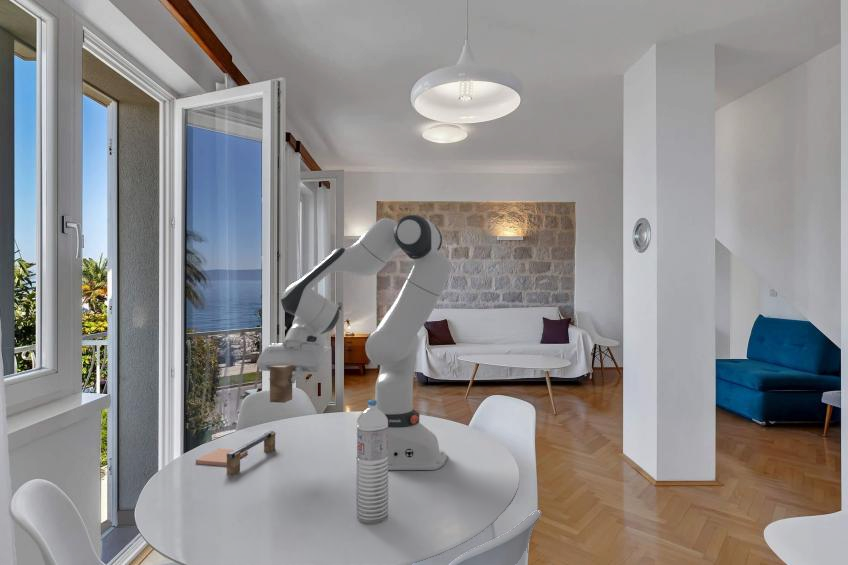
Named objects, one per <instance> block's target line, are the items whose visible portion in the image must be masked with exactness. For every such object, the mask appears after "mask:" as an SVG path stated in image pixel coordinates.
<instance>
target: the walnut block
mask: <svg viewBox="0 0 848 565" xmlns="http://www.w3.org/2000/svg"><path fill="white" fill-rule="evenodd" d="M290 375H293V372H292V365H275V366H271V367H270V371H269V378H270V380H269V402H270V403H281V404H284V403H285V404H286V403H287V402H289V401H291V400H293V383H289V381H288V378H289V376H290Z"/></svg>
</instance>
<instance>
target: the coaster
mask: <svg viewBox="0 0 848 565" xmlns="http://www.w3.org/2000/svg"><path fill="white" fill-rule="evenodd" d="M234 450H235V449H233V448H232V449H231V448H217V449H215V450H213V451H210V452H209V453H207V454H205V455H203V456H201V457H199V458H197V459H195V464H198V465H209V466H220V467H221V466H223V467H227V453H229V452H231V451H234ZM246 454H247V455H248V450H246V451H245V452H243V453H241V454H240V459H241V458H243V457H245V456H247V455H246Z"/></svg>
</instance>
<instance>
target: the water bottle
mask: <svg viewBox="0 0 848 565" xmlns="http://www.w3.org/2000/svg"><path fill="white" fill-rule="evenodd" d="M376 403H377V401H376V400H375V399H369V400H368V401H367V406H368V407H367V408H365V409H364V410H363V411H362V412H361V413H360V415H359V416H358V417H357V420H356V428H357V429H356V518H357V520H358V521H359V522H360V523H362V524H364V525H365V524H366V525H376V524H380V523H382V522H384V521H385V520H386V519H387V518H388V515H389V470H388V430H387V427H388V419H387V417H386V415H385V414H384V413H383V412H382V411H381V410H380V409H378V408H377V407H376V405H377V404H376Z"/></svg>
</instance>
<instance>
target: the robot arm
mask: <svg viewBox="0 0 848 565" xmlns="http://www.w3.org/2000/svg"><path fill="white" fill-rule="evenodd" d="M441 233H442V232H441V231H440V229H439V228H438V227H437V226H436V225H434V223H433V222H432V221H430V220H428V219H427V218H424V217H423V216H421V215H416V214H409V215H406V216H403V217H401V218H400V219H399V220H398V221H395V220H394V219H391V218H388V217H383V218H380V219H379V220H377V221H376V222H375V223H374V224H372V226H371V227H369V228H368V229H367V230H366V231H365V232H364V233H363V234H362V235H361V236H360V237H359V239H358V240H357V241H356V242H355V243H353V244H352V245H350V246H348V247H338V248H336V249H334V250H333V251H332V252H330V253H328V254H327V255H326V256H325V257H324V258H322V259H321V260H320V261H319V262H317V264H315V265H314V266H313V267H312V268H310V269H309V270H308V271H307V272H306V273H304V274H303V275H302V276H301V277H300V278H299V279H297V280H295V281H294V282H293V283H291V284H290V285H289V286H287V287H286V289H285V290H284V291H283V293H282V295H281V296H280V303H281V307H282V309H283V311H285V313H288V314H290V315H292V316H294V319H293V321H292V323H291V324H292V325H291V327H290V328H289V329H288V331H287V333H286V335H285V337H284V340H283V341H282V343H271V344H269V345H267V346H265V348H264V349H263V351H262V352H261V353H260V355H259V356H258V359H257V360H256V364H257V368H259V370H260V371H262V372H263V371H265V372H266V371H267V372H270V367H271V366H275V365H292V375H290V376H289V378H288V381H289V383H292V384H295V383H296V380H297V379H299V378H300V376H302V375H303V373H319V372H320V371H322V369H323V367H324V365H325V364H324V363H325V361H326V360H325V359H326V356H325V354H326V353H327V349H326V346H325V344H324V342H323V340H322V338H320V337H318V336H317V335H323V334H326V333H329V332H331V331H332V330H333V329H335V326H336V325H337V323H338V321H339V318H340V308H339V306H338V305H337V304H336V303H334V302H333V301H332V300H330V299H329V298H327V297H326V296H325V297H324V296H323V295H321V294H320V293H319V292H318V291H316V290H314V288H315V286H316V285H317V284H319V283H320V282H321V281H322V280H323V279H325V277H327V276H328V275H330V274H331V273H334V272H335V273H336V272H338V273H339V272H340V273H347V274H351V275H354V276H358V277H371V276H374V275H376V274H378V273H379V272H380V271H381V270H382V269H384V267H385V266H387V265H386V264H388V262H389V261H390V260H391V258H392V257H394V256H395V255H396V254H397V253H398V252H399V251H403V252H404V253H405V254H406V256H408V258H409V259H412V260H413V265H412V267H411V270H410V272H409V274H408V276H407V278H406V280H405V281H404V282H403V283H404V284H403V286H402V288H401V289H400V291H399V293H398V294H397V297H396V298H395V301H394V303H393V304H392V305H391V307H390V308H389V310H388V311H387V312H386V314H385V315H384V316H383V318H382V319H381V321H380V322H379V324H378V325H377V327H376V328H375V329H374V331H373V332H372V333H371V334H369V336H368V337H367V340H366V342H365V348H364V349H365V350H364V351H365V353H366V356H367V358H368V359H369V361H370V362H372V363H373V364H375V365H378V366H379V373H378V374H377V375H378V376H377V379H376V381H375V394H374V395H375V396H374V398H375V399H374V400H376V401H377V403H376V404H377V405H376V407H377V408H378V409H380V410H381V411H382V412H383V413H384V414H385V415H386V417H387V419H388V427H387V430H388V471H435V470H438V469H440V468H441V467H443V466H444V465H445V464H446V462H447V460H448V458H447V452H446V451H445V450H442V449H440V448H439V447H440V446H439V441H438V438H437V436H436V434H435V433H433V432H432V431H431V430H429V429H428V428H427V427H426V426H424V424H422V423H421V422H420V415H421V414H420V411H419V410H418V411H417V410H416V409H414V408H413V407H414V404H413V403H414V402H413V401H414V400H413V397H414V396H413V395H414V394H413V392H414V390H413V385H414V375H415V369H416V362H417V354H418V348H419V345H420V337H419V332H420V331H421V329H422V328H423V326H424V325H425V323H426V322H427V321H428V320H429V318H430V317H431V315H432V312H433V311H434V308H435V307H436V306H437V303H438V301H439V300H440V297H441V295H442V294H443V291H444V289H445V287H446V284H447V282H448V279H449V276H450V273H451V269H452V265H451V264H452V263H451V261H450V259H449V258H448V257H447V256H446V255H445V254H443V253H441V252H440V251H439V250H440V249H441V247H442V244H443V237H442V234H441ZM293 372H294V373H293ZM268 380H269V381H270V377H269V379H268Z"/></svg>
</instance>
